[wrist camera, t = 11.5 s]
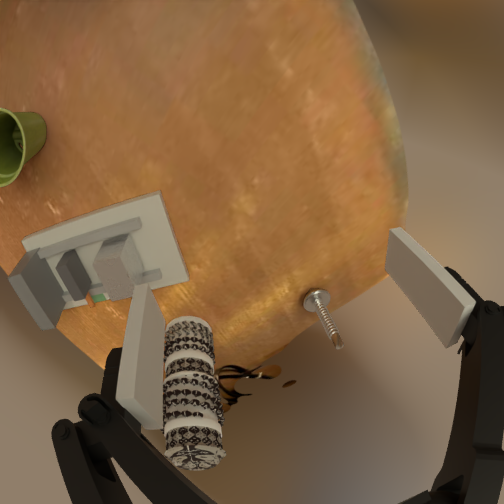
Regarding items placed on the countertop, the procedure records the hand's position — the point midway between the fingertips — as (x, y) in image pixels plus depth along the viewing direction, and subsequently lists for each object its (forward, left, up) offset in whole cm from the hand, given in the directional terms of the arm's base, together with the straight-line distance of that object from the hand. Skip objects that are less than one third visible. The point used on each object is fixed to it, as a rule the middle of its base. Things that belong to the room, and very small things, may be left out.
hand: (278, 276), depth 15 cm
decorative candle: (+28, -14, -26) cm, 40 cm away
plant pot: (-12, -26, -26) cm, 38 cm away
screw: (+26, +9, -26) cm, 38 cm away
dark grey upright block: (+10, -25, -24) cm, 36 cm away
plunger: (+9, -17, -24) cm, 31 cm away
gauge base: (+9, -22, -26) cm, 35 cm away
